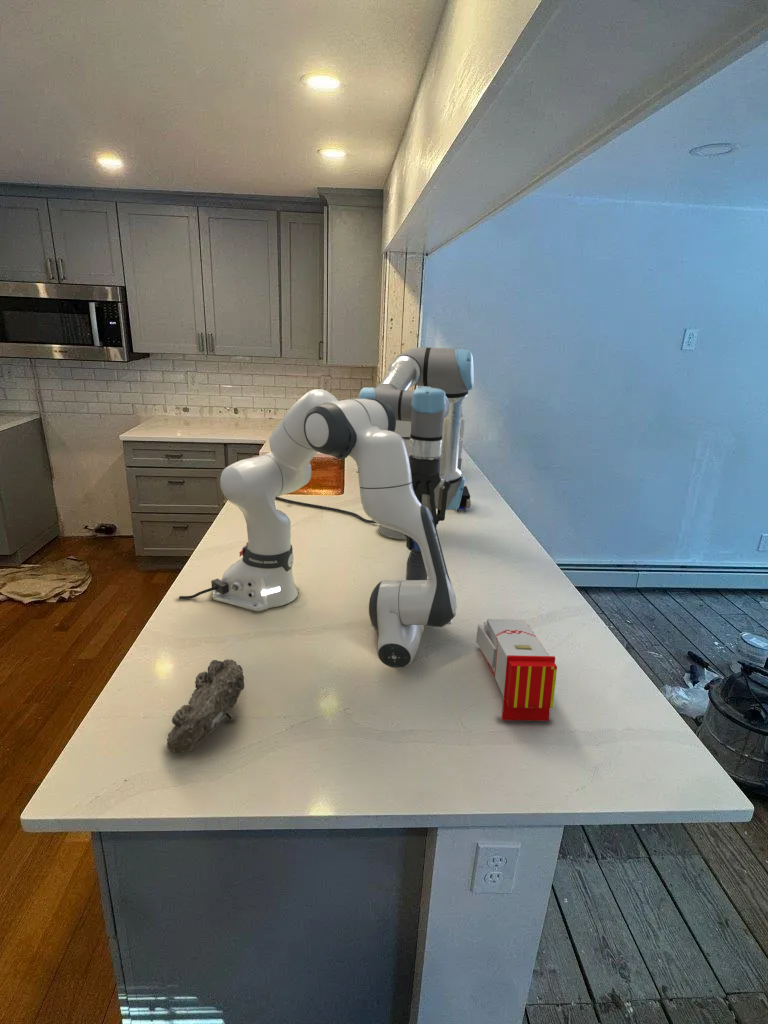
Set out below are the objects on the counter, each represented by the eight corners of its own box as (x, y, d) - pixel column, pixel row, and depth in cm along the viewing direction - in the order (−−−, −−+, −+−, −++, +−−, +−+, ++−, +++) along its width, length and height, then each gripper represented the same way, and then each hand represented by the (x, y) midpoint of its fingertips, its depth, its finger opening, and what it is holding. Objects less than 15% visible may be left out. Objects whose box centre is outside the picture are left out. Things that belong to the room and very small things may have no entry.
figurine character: (470, 516, 223) (465, 500, 237) (473, 499, 220) (467, 484, 233) (453, 516, 223) (449, 500, 236) (455, 498, 220) (451, 483, 233)
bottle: (399, 614, 147) (403, 540, 140) (413, 608, 151) (418, 535, 144) (414, 623, 144) (419, 546, 136) (428, 616, 147) (434, 541, 140)
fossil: (192, 660, 117) (244, 628, 112) (224, 691, 120) (276, 661, 115) (142, 746, 98) (202, 712, 93) (182, 779, 101) (242, 748, 96)
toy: (523, 604, 135) (566, 662, 106) (518, 656, 138) (559, 727, 109) (472, 603, 135) (501, 661, 105) (468, 655, 138) (496, 726, 108)
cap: (407, 548, 139) (408, 540, 139) (413, 542, 143) (413, 534, 142) (424, 551, 138) (424, 543, 137) (429, 545, 142) (430, 538, 141)
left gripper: (452, 613, 130) (457, 587, 143) (365, 601, 134) (378, 576, 147) (449, 637, 132) (455, 609, 145) (364, 624, 136) (377, 598, 149)
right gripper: (453, 451, 138) (446, 539, 146) (385, 452, 134) (381, 543, 142) (465, 459, 131) (456, 551, 139) (393, 460, 127) (388, 555, 135)
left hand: (415, 592), depth 146 cm, fingers closed on bottle, 5 cm apart
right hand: (418, 547), depth 141 cm, fingers closed on cap, 4 cm apart
